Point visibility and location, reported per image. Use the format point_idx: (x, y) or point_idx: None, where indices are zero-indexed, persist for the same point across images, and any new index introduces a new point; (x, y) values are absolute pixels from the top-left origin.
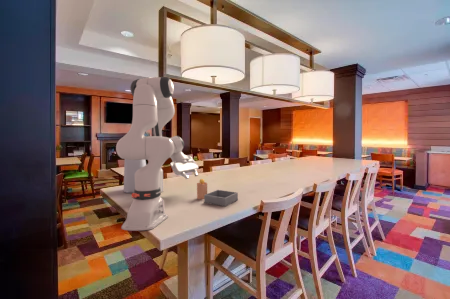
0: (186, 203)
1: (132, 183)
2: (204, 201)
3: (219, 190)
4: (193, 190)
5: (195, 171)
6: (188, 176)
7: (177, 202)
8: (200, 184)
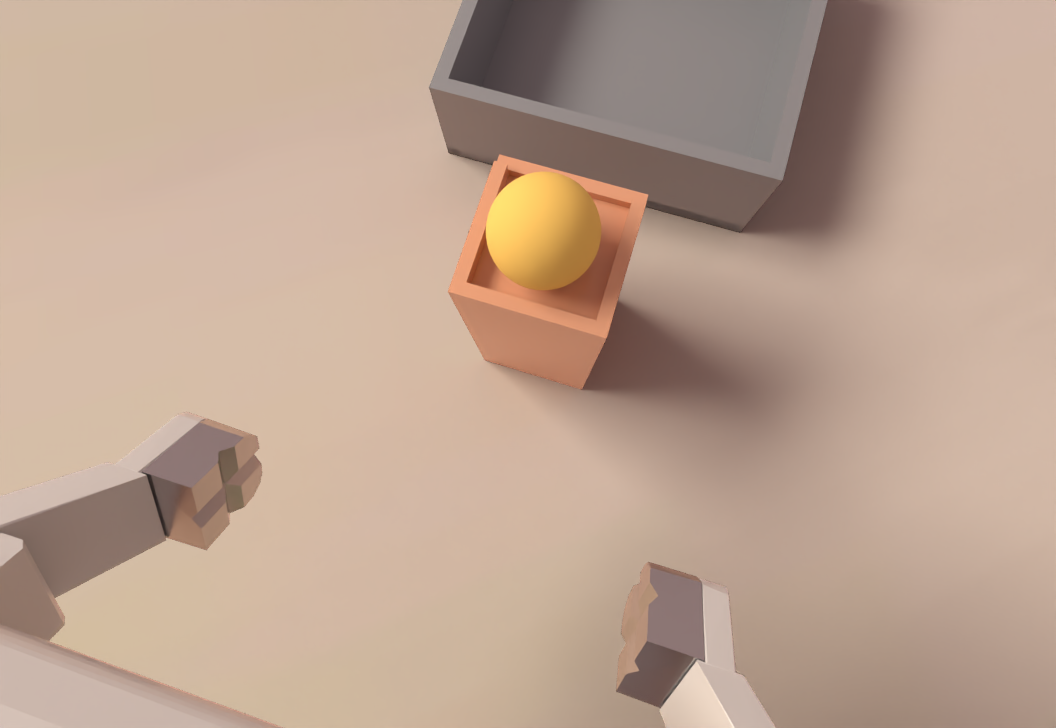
0: (835, 446)
1: None
2: (745, 224)
3: (458, 58)
4: (136, 629)
5: (31, 549)
6: (653, 584)
7: (833, 595)
8: (630, 253)
